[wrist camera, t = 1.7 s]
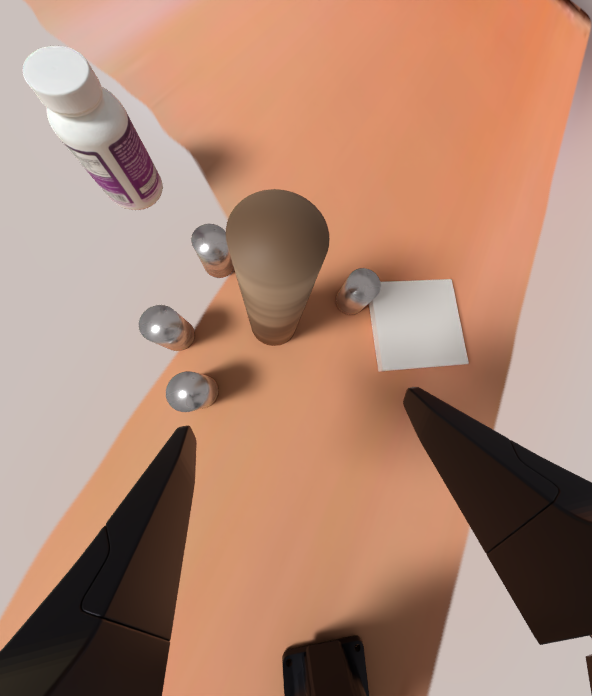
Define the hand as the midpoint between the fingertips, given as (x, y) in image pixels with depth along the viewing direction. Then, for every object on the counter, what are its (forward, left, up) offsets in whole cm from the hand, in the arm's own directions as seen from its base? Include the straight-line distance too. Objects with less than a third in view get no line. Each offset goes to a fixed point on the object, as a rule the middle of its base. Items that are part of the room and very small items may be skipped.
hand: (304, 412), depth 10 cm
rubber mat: (+6, -14, -13) cm, 20 cm away
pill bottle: (+22, +14, -13) cm, 30 cm away
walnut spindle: (+7, 0, -13) cm, 15 cm away
